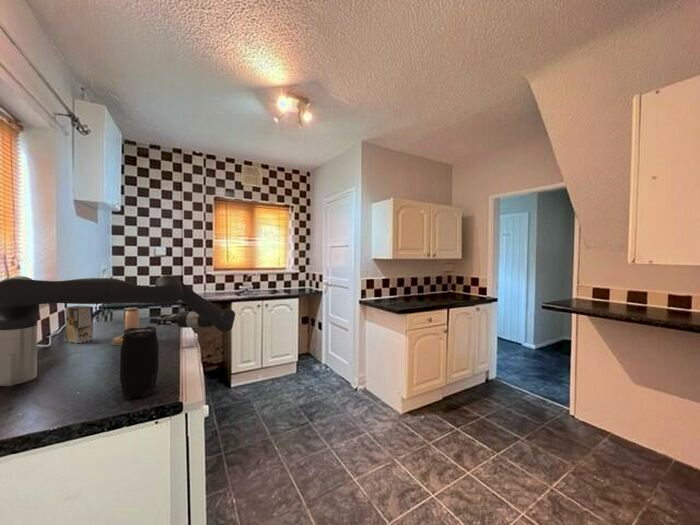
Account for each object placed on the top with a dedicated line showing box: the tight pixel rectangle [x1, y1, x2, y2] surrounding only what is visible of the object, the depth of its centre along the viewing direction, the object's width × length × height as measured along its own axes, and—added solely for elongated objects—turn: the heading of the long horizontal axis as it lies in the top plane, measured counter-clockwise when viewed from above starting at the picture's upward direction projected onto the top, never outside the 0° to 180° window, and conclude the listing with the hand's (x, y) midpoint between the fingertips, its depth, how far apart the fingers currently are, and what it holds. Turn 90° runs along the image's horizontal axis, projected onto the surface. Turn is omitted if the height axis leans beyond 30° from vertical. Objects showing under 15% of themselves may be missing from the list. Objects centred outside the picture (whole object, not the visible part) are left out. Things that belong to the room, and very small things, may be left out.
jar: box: [124, 307, 140, 330], centre depth 144 cm, size 5×5×15 cm
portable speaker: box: [119, 325, 160, 401], centre depth 91 cm, size 9×9×20 cm
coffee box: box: [64, 305, 94, 344], centre depth 142 cm, size 9×6×16 cm
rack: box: [110, 334, 124, 346], centre depth 145 cm, size 12×10×2 cm
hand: (155, 319), depth 145 cm, fingers open, 8 cm apart
